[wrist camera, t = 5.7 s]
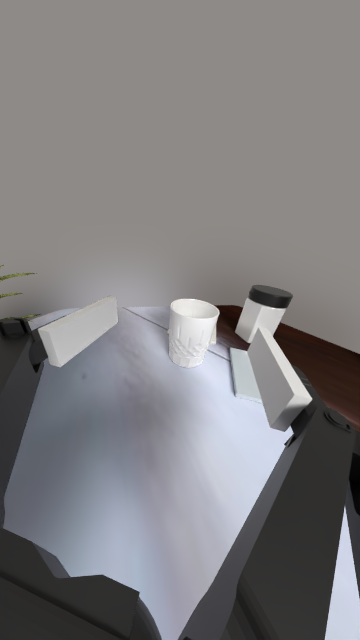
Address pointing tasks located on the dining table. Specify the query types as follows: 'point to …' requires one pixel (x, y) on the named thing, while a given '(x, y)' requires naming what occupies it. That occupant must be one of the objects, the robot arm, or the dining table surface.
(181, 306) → the white cup
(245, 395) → the light grey square tile
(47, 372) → the dining table surface
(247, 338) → the jar
